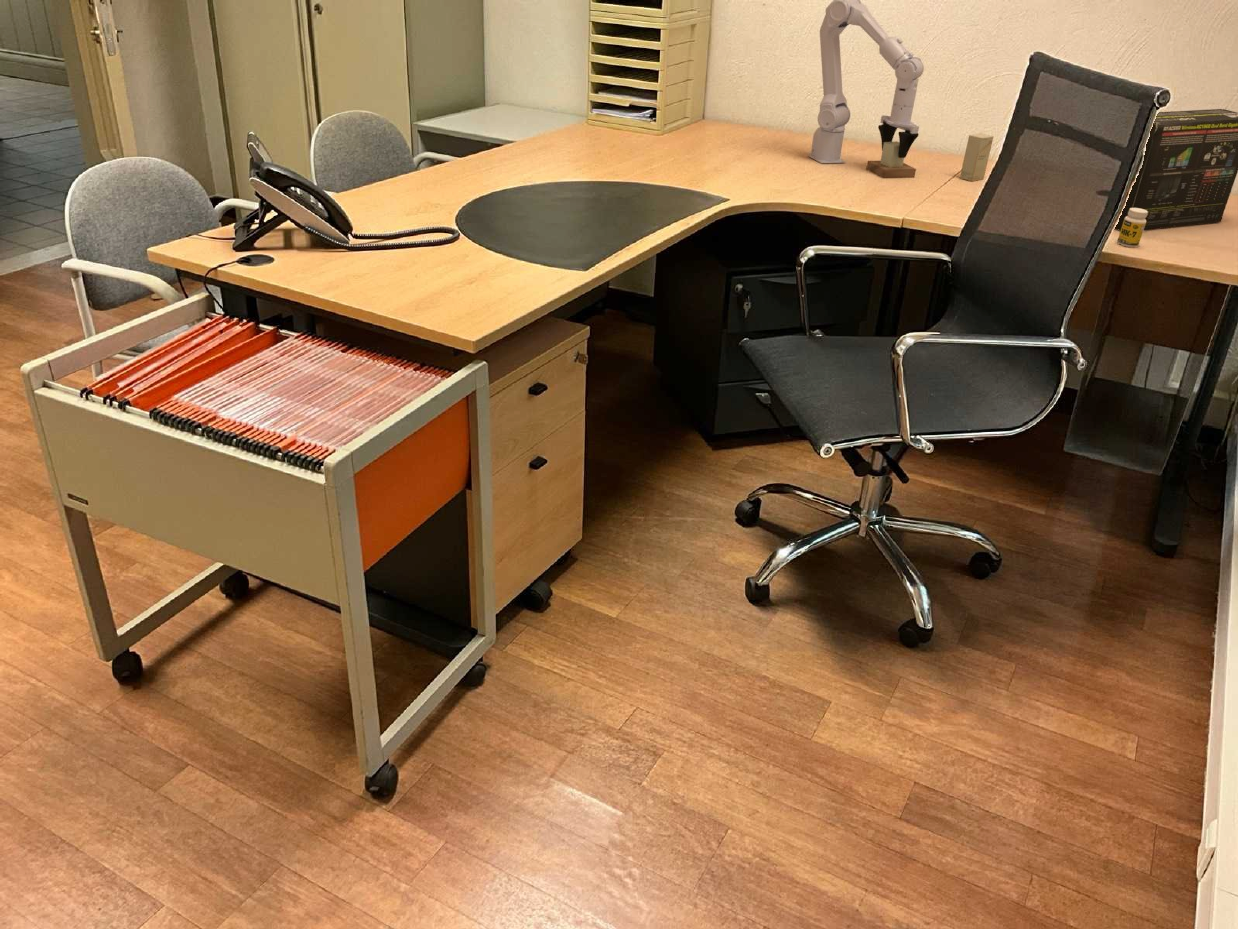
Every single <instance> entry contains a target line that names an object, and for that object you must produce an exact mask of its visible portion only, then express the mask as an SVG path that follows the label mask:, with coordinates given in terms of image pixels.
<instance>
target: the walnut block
mask: <svg viewBox="0 0 1238 929" xmlns="http://www.w3.org/2000/svg"><path fill="white" fill-rule="evenodd" d="M880 161H881V160H867V163H866V171H868V172H870V173H872V174H874V175H876V176H877V177H880V178H881V179H883V180H884V179H915V178H916V172H917V169H916V168H915V167H913V166H911V165H909V164H907V163H905V162H903V166H902V167H888V166H885V165H883V164H880Z"/></svg>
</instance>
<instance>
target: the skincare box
mask: <svg viewBox="0 0 1238 929" xmlns="http://www.w3.org/2000/svg"><path fill="white" fill-rule="evenodd" d="M967 139H968V140H967V144H966V147H965V148H966V149H965V152H964V156H963V157H964V158H963V162H962V167H961V170H960V175H959V178H960V179H961V180H965V181H969V182H975V181H976V182H977V181H981V180H984V179H985V176H986V175H985V174H986V170H987V166H988V162H989V157H990V152H991V149H992V144H993V140H994V135H990V134H986V133H985V134H984V133H974V134H969V135H968V138H967Z"/></svg>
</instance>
